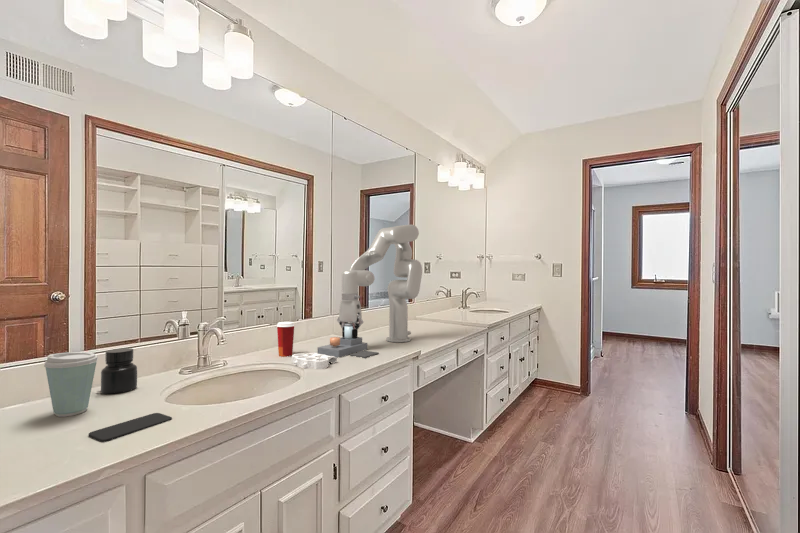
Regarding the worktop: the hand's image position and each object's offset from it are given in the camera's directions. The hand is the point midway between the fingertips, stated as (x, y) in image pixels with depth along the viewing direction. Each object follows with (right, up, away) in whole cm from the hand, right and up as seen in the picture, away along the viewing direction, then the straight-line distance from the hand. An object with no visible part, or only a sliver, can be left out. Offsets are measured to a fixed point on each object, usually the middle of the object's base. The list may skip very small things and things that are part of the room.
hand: (349, 336), depth 177 cm
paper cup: (-26, -6, -12) cm, 29 cm away
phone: (-39, -6, -87) cm, 96 cm away
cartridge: (0, -3, 0) cm, 3 cm away
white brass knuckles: (-11, -6, -26) cm, 29 cm away
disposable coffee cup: (-61, -5, -78) cm, 99 cm away
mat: (+8, -6, -10) cm, 14 cm away
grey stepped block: (-2, -6, -4) cm, 8 cm away
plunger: (-5, -6, -9) cm, 12 cm away
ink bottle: (-62, -5, -60) cm, 86 cm away
